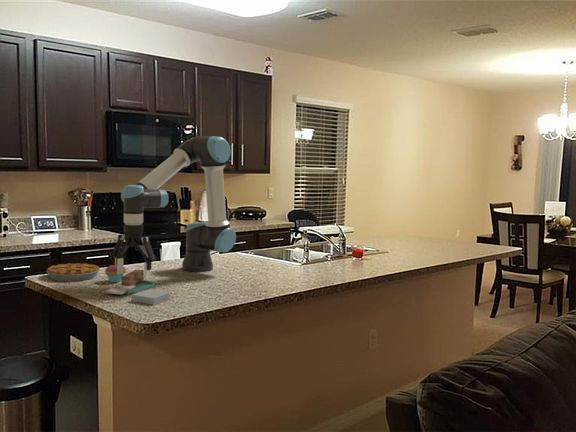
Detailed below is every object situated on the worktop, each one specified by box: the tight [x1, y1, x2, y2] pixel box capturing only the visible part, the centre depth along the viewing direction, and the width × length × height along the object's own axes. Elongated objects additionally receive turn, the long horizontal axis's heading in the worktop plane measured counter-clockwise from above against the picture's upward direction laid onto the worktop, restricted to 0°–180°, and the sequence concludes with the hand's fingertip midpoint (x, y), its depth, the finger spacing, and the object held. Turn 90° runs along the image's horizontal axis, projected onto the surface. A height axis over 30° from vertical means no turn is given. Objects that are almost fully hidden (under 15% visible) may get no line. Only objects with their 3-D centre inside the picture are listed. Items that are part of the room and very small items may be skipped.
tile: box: [130, 288, 171, 306], centre depth 198 cm, size 3×10×10 cm
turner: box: [104, 269, 145, 295], centre depth 212 cm, size 22×7×4 cm, turn 168°
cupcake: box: [104, 257, 127, 283], centre depth 226 cm, size 9×8×12 cm
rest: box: [109, 279, 155, 295], centre depth 214 cm, size 16×9×2 cm, turn 156°
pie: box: [45, 262, 100, 282], centre depth 232 cm, size 22×22×5 cm
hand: (133, 275), depth 214 cm, fingers open, 13 cm apart
